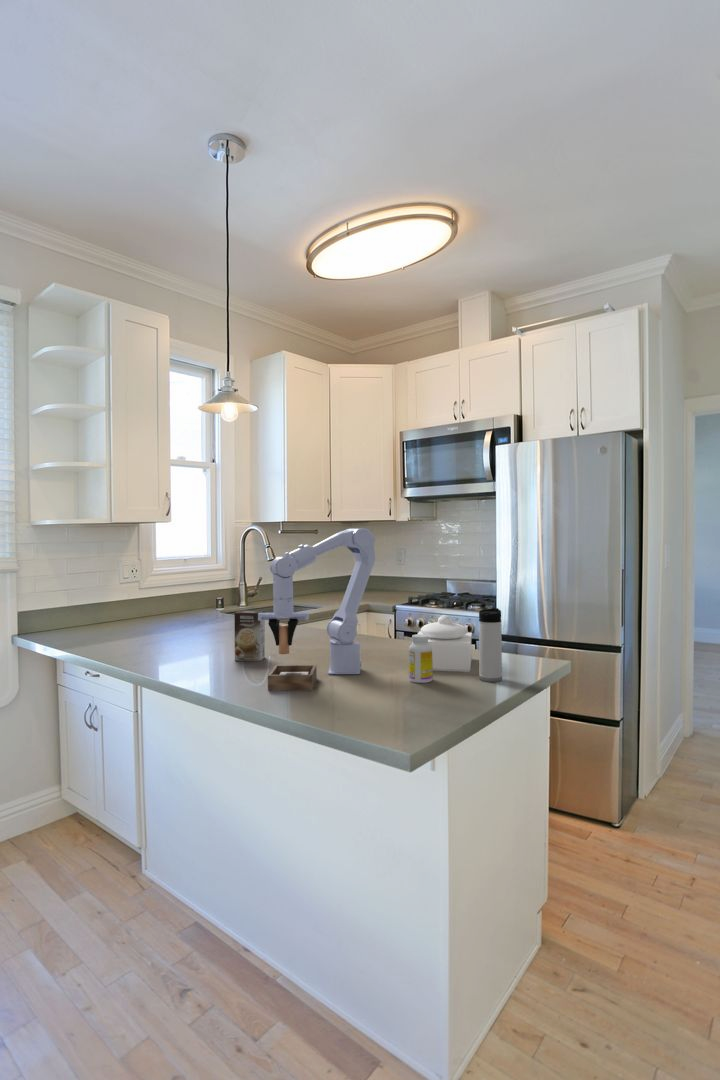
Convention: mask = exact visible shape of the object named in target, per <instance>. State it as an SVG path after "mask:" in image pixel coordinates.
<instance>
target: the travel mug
mask: <svg viewBox="0 0 720 1080" xmlns="http://www.w3.org/2000/svg"><path fill="white" fill-rule="evenodd" d="M502 644H503V643H502V610H501V609H499V608H497V607H492V608H487V609H486V608H485V609H482V610H479V611H478V654H479V655H478V658H479V660H478V661H479V662H478V667H479V669H478V673H479V674H478V675H479V677H478V679H479V680H480V681H483V682H487V683H498V682H501V681H502V680H503V673H502V672H503V670H502V669H503V667H502V665H503V662H502V661H503V657H502V655H503V653H502V648H503V647H502V646H503V645H502ZM497 681H498V682H497Z"/></svg>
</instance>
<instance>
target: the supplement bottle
mask: <svg viewBox="0 0 720 1080" xmlns="http://www.w3.org/2000/svg"><path fill="white" fill-rule="evenodd" d="M411 640H412V643H413V644H412V643H411V644H410V645H409V647H408V678H409V681H410V682H411V683H417V684H428V683H430V682H432V681H433V678H434V676H433V671H434V670H433V664H432V646H431V645H430V644H428V640H429V636H428V635H424V634H418V633H417V634H416V633H415V634H412V636H411Z"/></svg>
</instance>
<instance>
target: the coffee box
mask: <svg viewBox="0 0 720 1080" xmlns="http://www.w3.org/2000/svg"><path fill="white" fill-rule="evenodd" d="M259 613H266V611H265V610H254V609H253V610H250V609H249V610H247V609H245V610H244V609H243V610H242V609H241V610H237V611H235V612H234V616H233V617H234V661H238V662H239V661H240V662H241V661H243V662H247V661H249V662H261V661H262V660H263V659H265V658H266V654H265V653H266V652H265V651H266V650H265V649H266V646H265V645H266V644H265V641H266V639H265V636H266V633H265V631H266V629H265V628H266V627H265V625H266V623H265V621H266V620H261V621H258V614H259Z"/></svg>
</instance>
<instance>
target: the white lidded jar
mask: <svg viewBox="0 0 720 1080" xmlns="http://www.w3.org/2000/svg"><path fill="white" fill-rule="evenodd" d="M417 634H424V635H428V636H429V640H428V644H430V645H431V646H432V664H433V671H442V672H464V673H465V672H466V673H470V672H471V665H472V659H471V658H472V635H473V633H472V632H469V631H468V628H467V626H464V625H463V624H460V623H456V622H453V619H452V618H451V616H449V615H447V614H442V615H441V616H439V617H438V619H437V621H434V622H430V623H427V624H425V625H423V626H422V627H421V628H420V630H419V631H418V632H417ZM411 644H413V642H412V643H411Z"/></svg>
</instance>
